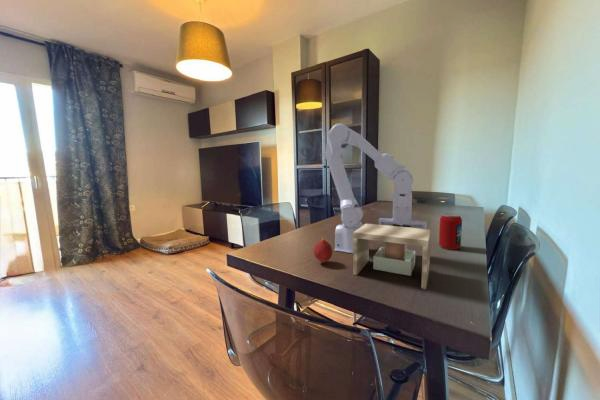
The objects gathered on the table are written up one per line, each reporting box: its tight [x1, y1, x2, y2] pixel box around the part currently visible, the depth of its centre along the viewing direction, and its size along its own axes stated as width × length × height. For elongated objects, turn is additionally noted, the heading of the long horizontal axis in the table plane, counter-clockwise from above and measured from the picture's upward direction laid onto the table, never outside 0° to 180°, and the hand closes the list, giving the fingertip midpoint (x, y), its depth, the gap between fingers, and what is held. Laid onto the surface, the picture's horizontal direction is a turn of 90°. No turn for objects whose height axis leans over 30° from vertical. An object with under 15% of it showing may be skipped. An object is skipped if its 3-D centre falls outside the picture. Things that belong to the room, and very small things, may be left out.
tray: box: [372, 244, 416, 277], centre depth 75 cm, size 10×15×4 cm, turn 149°
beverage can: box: [438, 212, 463, 250], centre depth 88 cm, size 7×7×12 cm
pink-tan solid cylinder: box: [384, 242, 407, 261], centre depth 73 cm, size 6×6×8 cm
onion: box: [313, 237, 333, 264], centre depth 77 cm, size 6×6×8 cm
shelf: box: [352, 223, 432, 290], centre depth 68 cm, size 18×12×12 cm, turn 59°
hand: (401, 247), depth 83 cm, fingers closed, pressing on tray
